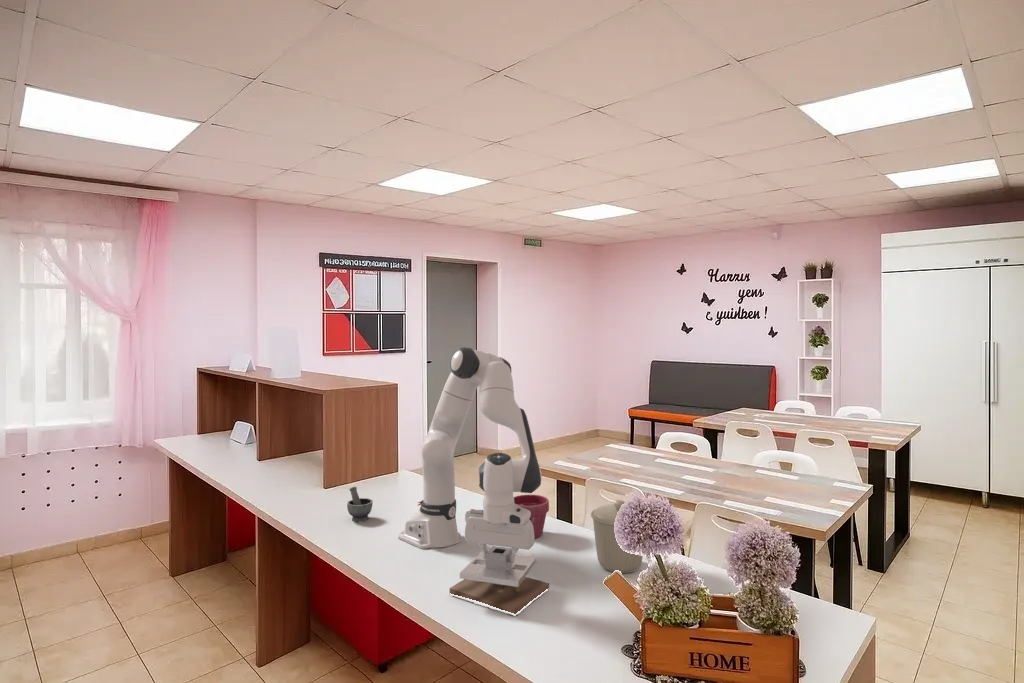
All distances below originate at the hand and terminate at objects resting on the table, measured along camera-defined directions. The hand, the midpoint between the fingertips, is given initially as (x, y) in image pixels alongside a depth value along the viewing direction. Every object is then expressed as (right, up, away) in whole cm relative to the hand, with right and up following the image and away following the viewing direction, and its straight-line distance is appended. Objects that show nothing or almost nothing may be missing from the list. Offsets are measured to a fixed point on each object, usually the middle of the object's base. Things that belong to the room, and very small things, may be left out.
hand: (499, 560), depth 162 cm
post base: (0, -9, 0) cm, 9 cm away
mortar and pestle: (-57, -8, +62) cm, 84 cm away
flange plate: (0, -3, 0) cm, 3 cm away
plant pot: (+10, -8, +45) cm, 47 cm away
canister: (+38, -9, +18) cm, 43 cm away
